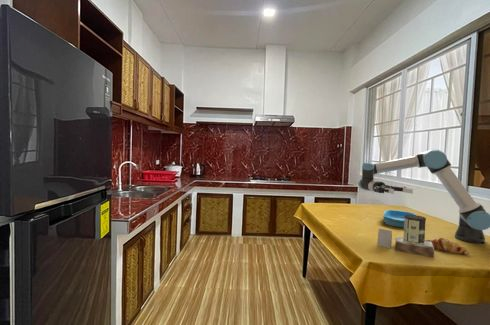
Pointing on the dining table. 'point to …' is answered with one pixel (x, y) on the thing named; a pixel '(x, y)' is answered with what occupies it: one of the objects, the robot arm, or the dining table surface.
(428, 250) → the stand
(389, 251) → the dining table surface
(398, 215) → the casserole dish
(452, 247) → the croissant
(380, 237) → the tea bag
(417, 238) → the coffee can
